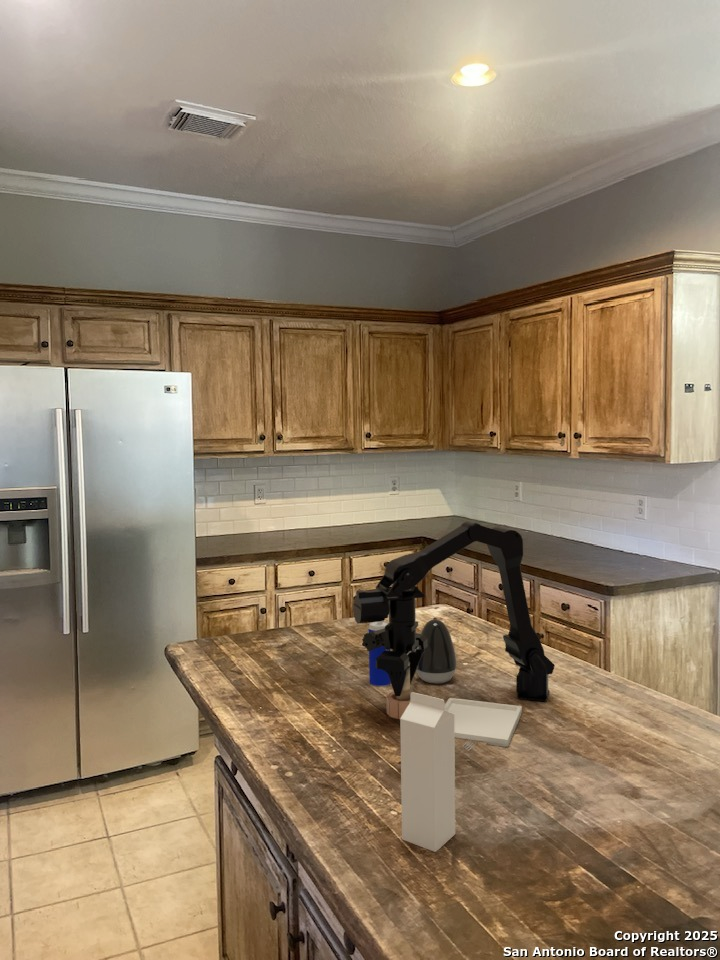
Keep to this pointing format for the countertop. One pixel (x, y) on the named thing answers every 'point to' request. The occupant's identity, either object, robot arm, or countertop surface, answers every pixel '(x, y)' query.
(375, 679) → the beverage can
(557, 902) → the countertop surface
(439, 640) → the dark egg-shaped dome
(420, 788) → the milk
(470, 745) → the fork
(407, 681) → the dowel
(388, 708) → the cup
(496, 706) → the tray
